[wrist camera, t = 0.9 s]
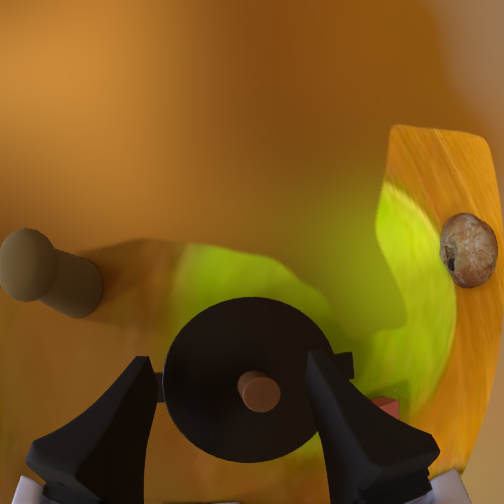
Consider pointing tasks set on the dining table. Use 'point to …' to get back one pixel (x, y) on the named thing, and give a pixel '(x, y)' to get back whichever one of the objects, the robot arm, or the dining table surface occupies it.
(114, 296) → the dining table surface
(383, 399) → the reddish pink block
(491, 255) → the bread roll
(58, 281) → the cork
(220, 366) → the pan lid
